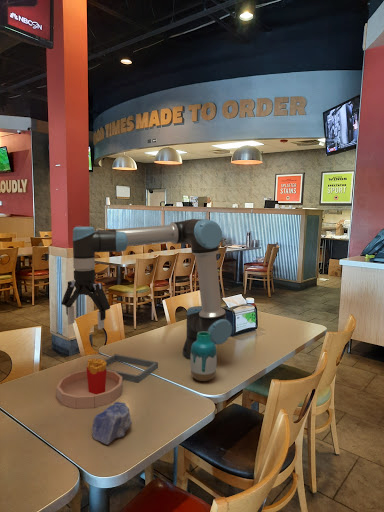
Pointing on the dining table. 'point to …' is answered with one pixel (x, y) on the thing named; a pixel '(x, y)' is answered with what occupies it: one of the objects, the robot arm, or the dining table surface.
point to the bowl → (78, 396)
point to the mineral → (111, 423)
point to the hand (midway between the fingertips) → (85, 326)
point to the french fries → (96, 375)
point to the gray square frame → (147, 363)
